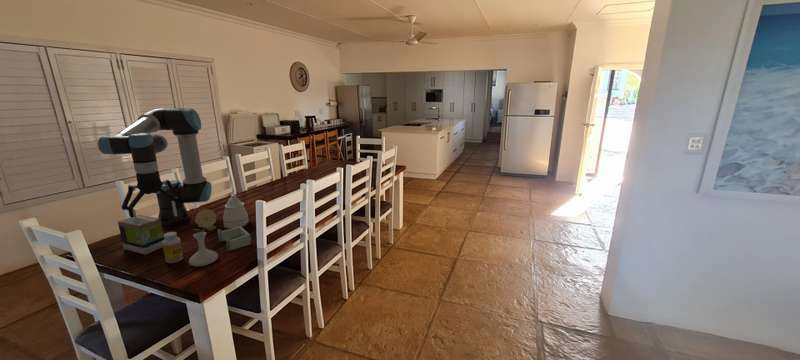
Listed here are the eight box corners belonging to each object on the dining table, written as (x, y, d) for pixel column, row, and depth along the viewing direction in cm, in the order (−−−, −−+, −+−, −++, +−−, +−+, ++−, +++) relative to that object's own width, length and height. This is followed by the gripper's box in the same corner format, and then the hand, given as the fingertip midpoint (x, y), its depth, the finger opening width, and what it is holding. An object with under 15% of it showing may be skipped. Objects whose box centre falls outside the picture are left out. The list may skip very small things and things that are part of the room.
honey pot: (250, 225, 179) (247, 195, 174) (225, 230, 172) (221, 199, 167) (246, 217, 189) (243, 189, 184) (222, 222, 182) (218, 192, 177)
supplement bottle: (174, 264, 138) (169, 238, 134) (162, 262, 139) (156, 236, 135) (187, 257, 144) (182, 231, 140) (175, 255, 145) (170, 230, 142)
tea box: (166, 245, 153) (161, 218, 149) (144, 255, 144) (138, 226, 140) (145, 240, 158) (139, 213, 154) (123, 249, 149) (116, 221, 145)
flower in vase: (186, 271, 133) (176, 217, 126) (191, 258, 143) (183, 207, 136) (221, 265, 138) (213, 213, 131) (224, 253, 148) (217, 204, 141)
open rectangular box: (219, 241, 159) (217, 229, 158) (241, 234, 167) (240, 223, 165) (228, 251, 150) (226, 239, 148) (251, 243, 157) (250, 232, 156)
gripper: (107, 178, 116) (119, 230, 122) (185, 168, 134) (192, 214, 140) (105, 174, 121) (117, 225, 127) (180, 165, 139) (188, 210, 144)
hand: (156, 219), depth 133 cm, fingers open, 13 cm apart
